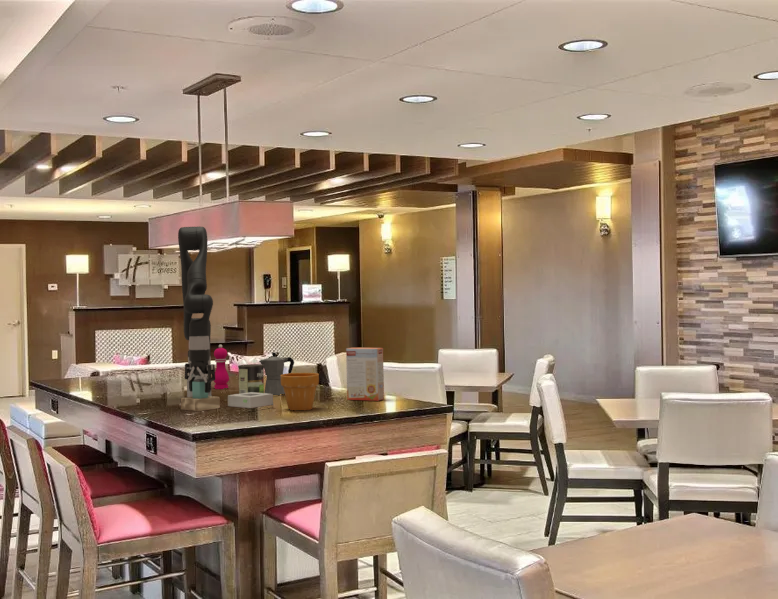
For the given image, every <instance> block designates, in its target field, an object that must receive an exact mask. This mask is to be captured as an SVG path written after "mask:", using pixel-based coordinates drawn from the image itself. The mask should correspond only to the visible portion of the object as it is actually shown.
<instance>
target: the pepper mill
mask: <svg viewBox="0 0 778 599" xmlns="http://www.w3.org/2000/svg"><path fill="white" fill-rule="evenodd" d="M213 356H214V358H215V359H214V360H215V361H214V362H215V363H216V364H215V365H216V367H215V380H214V381H213V382H214V385H213V389H214V388H215V389H214V390H225V389H224V388H228V389H229V384H228V383H229V381H230V376H229V373H228V371H227V368H226V363H227V356H228V351H227V349H226V348H224V347H223V345H222V344H219V345H218V348H216V349H215V350H214V352H213Z"/></svg>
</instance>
